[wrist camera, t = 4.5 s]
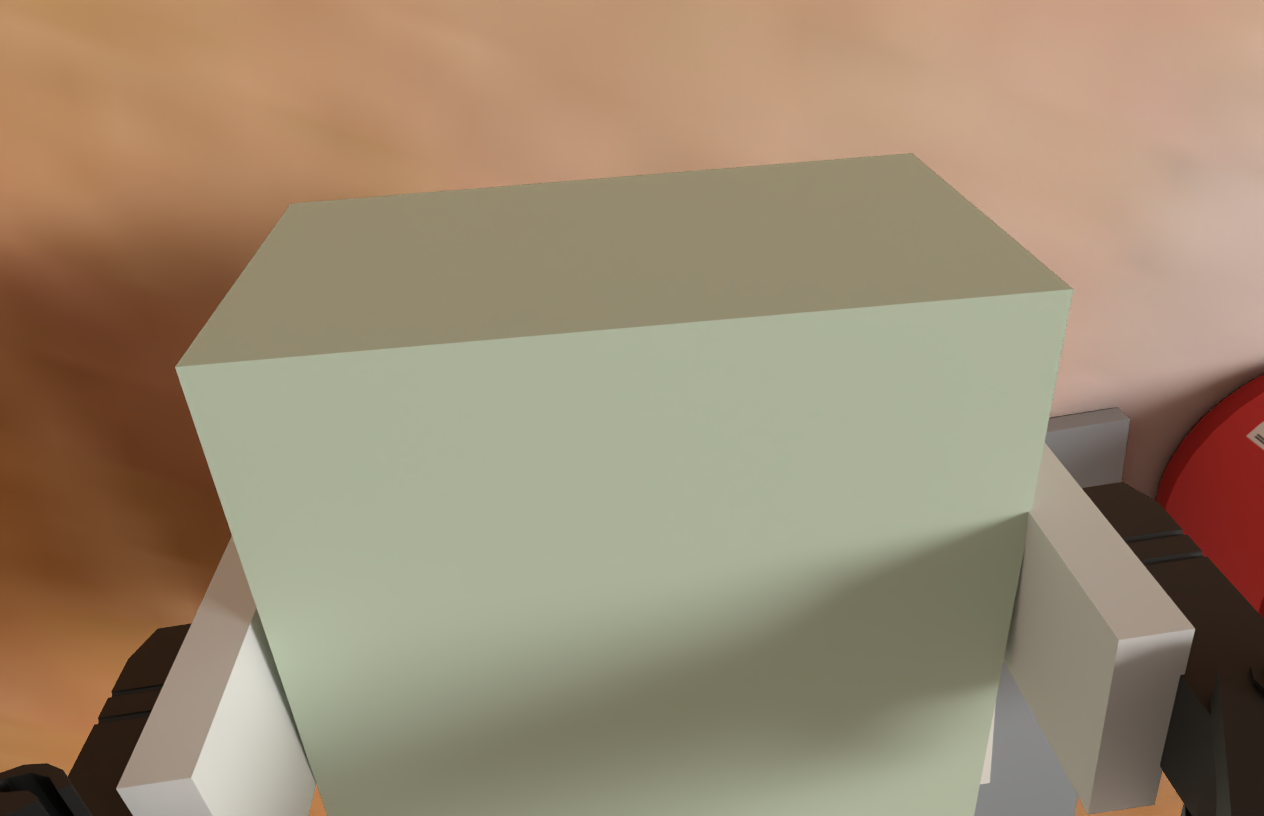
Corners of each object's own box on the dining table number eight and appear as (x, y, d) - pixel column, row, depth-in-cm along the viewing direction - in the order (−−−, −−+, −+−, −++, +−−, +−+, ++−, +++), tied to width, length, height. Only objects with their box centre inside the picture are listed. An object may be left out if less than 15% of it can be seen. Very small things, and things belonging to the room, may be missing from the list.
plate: (507, 504, 25) (506, 519, 24) (1117, 407, 25) (1131, 420, 24) (600, 886, 33) (601, 905, 32) (1064, 811, 33) (1073, 828, 32)
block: (290, 203, 14) (174, 367, 9) (912, 153, 14) (1073, 288, 10) (403, 661, 18) (359, 912, 14) (870, 615, 19) (968, 847, 14)
